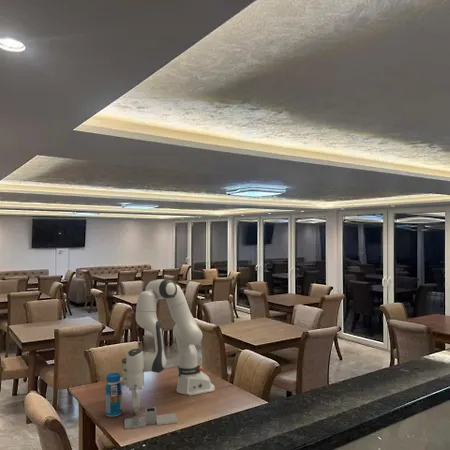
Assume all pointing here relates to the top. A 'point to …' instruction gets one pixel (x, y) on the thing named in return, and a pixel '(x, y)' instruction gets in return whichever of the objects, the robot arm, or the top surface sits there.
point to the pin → (135, 412)
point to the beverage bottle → (113, 395)
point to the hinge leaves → (150, 419)
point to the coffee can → (124, 371)
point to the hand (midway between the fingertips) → (135, 409)
